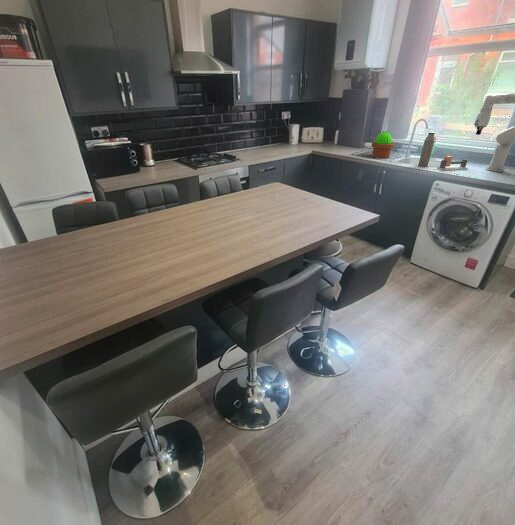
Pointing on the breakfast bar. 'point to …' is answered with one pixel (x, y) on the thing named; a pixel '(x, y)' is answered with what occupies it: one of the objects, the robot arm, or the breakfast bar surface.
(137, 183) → the breakfast bar surface
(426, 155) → the thermos bottle
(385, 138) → the potted cactus
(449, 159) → the keeper
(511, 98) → the robot arm
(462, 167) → the rail
